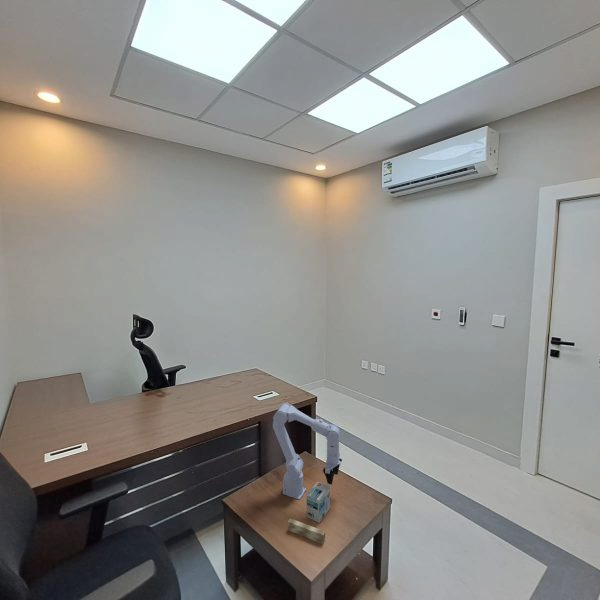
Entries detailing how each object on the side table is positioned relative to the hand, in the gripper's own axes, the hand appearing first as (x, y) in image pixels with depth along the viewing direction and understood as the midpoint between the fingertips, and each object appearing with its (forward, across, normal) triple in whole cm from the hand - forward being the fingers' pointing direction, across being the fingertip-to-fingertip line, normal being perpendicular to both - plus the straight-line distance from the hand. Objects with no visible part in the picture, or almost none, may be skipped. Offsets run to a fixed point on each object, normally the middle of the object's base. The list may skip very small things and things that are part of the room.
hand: (332, 478), depth 150 cm
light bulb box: (+10, -11, +3) cm, 15 cm away
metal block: (+10, -24, +2) cm, 27 cm away
